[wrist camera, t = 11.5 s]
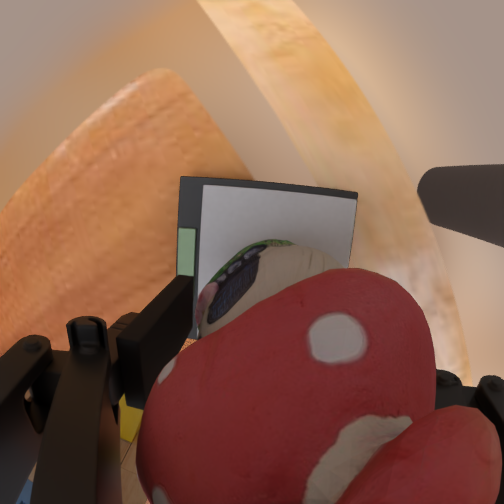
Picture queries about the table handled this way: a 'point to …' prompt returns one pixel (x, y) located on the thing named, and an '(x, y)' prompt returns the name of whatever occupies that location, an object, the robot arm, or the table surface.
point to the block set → (128, 444)
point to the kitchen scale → (256, 222)
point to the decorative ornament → (309, 395)
